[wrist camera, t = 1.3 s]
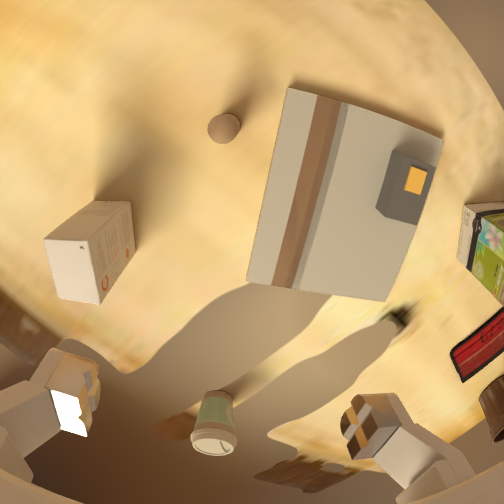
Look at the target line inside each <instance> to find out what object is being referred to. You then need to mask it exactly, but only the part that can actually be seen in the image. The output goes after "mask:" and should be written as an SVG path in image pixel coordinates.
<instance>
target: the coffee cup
mask: <svg viewBox="0 0 504 504" xmlns="http://www.w3.org/2000/svg"><path fill="white" fill-rule="evenodd" d="M191 441H192V444H193V447H194V448H195V449H196V450H197V451H199V452H201V453H204V454H208V455H216V456H220V455H226V454H229V453H231V452H232V451H233V450H234V447H235V446H236V443H237V438H236V437H235V427H234V417H233V404H232V397H231V396H230V395H229V394H228V393H226V392H224V391H219V390H213V391H209V392H207V393H205V394H204V397H203V400H202V404H201V407H200V410H199V414H198V417H197V421H196V424H195V428H194V431H193V432H192V434H191Z"/></svg>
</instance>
